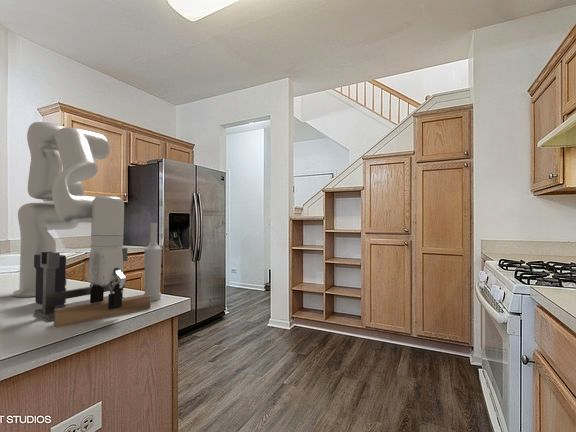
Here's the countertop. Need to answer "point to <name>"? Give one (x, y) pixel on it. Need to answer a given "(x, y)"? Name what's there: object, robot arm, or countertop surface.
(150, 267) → the bottle
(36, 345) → the countertop surface
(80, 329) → the countertop surface
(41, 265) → the hook stand
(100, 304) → the rail
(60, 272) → the black notched bar
